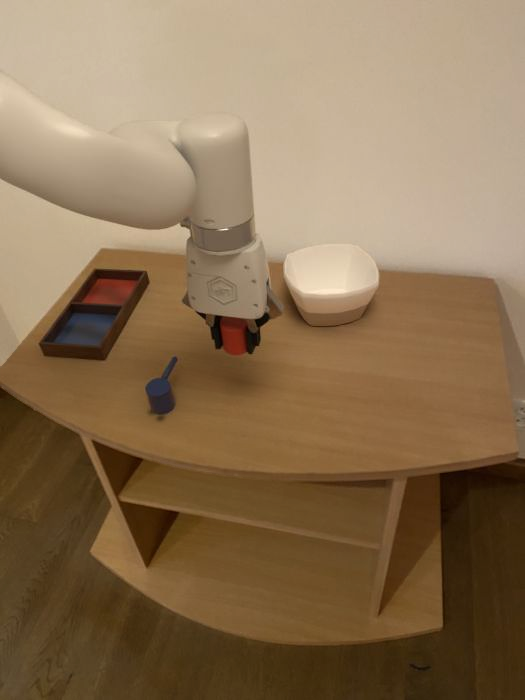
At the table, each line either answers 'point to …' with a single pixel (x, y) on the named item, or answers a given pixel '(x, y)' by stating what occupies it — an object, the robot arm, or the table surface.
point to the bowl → (331, 282)
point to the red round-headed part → (233, 335)
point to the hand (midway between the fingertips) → (236, 344)
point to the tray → (95, 315)
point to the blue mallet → (161, 391)
